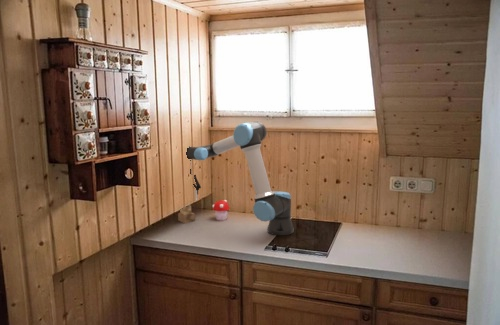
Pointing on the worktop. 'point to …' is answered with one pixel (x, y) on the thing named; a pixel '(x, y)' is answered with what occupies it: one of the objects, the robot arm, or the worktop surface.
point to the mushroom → (221, 209)
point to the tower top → (186, 210)
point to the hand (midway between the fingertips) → (186, 201)
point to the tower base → (186, 217)
